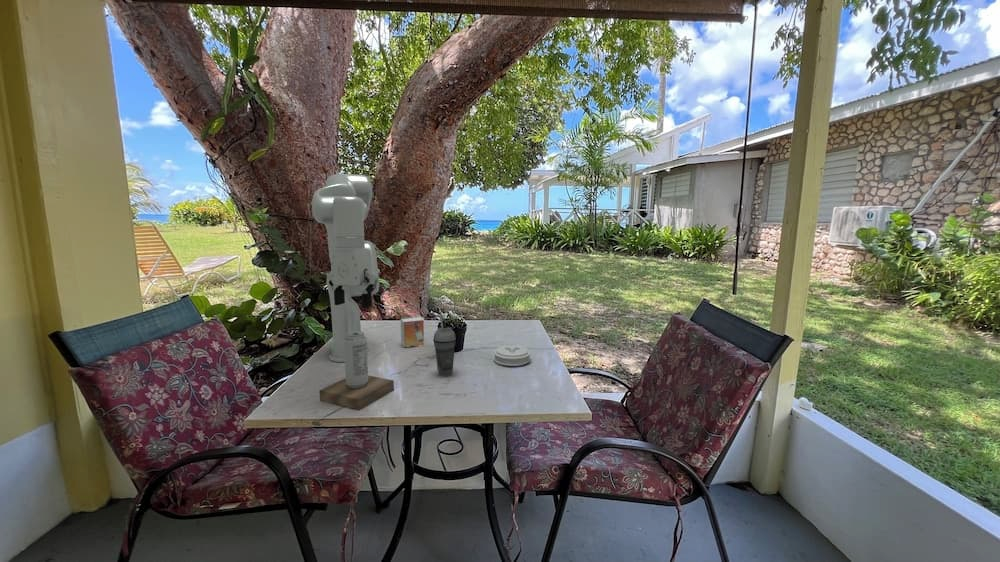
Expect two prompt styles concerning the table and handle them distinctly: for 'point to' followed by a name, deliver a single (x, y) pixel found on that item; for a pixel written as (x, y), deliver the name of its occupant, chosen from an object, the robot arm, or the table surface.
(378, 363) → the table surface
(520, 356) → the lid
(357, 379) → the energy drink can
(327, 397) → the walnut base
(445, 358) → the beverage cup
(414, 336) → the small box
